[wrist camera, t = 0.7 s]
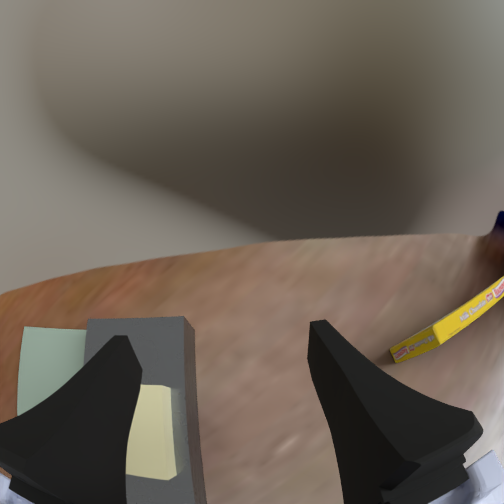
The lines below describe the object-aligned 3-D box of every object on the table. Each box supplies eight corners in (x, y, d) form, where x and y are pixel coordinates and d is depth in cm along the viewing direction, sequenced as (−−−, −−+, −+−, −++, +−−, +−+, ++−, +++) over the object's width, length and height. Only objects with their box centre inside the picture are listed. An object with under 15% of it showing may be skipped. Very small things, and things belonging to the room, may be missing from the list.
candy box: (395, 367, 23) (440, 346, 16) (387, 349, 24) (429, 321, 17) (485, 308, 25) (525, 277, 18) (478, 294, 26) (516, 261, 19)
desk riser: (209, 520, 15) (200, 535, 12) (113, 505, 15) (93, 514, 12) (194, 329, 26) (183, 316, 23) (107, 331, 26) (88, 318, 23)
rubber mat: (105, 503, 15) (103, 504, 15) (24, 470, 15) (22, 470, 15) (99, 331, 26) (97, 330, 25) (26, 327, 26) (24, 326, 25)
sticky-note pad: (176, 475, 15) (168, 480, 14) (95, 461, 15) (82, 463, 13) (170, 387, 19) (162, 385, 18) (92, 382, 19) (80, 378, 18)
